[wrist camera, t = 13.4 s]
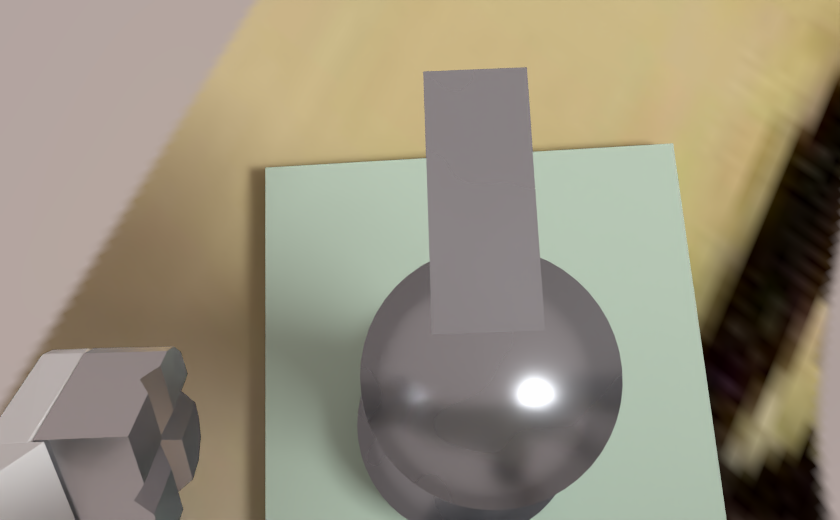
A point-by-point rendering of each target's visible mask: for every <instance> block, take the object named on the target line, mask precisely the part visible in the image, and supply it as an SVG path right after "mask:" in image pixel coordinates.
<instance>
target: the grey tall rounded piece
mask: <svg viewBox="0 0 840 520" xmlns="http://www.w3.org/2000/svg"><path fill="white" fill-rule="evenodd" d="M423 76H424V106H425V137H426V167H427V198H428V228H429V259H430V262H428V263H426V264H424V265H422V266H421V267H419V268H418V269H416V270H415V271H413V272H412V273H410V274H409V275H408V276H407V277H406V278H404V279H403V280H402V281H401V282H400V283H399V284H398V285H397V286H396V287H395V288H394V289H393V290H392V292H391V293H390V294H389V295H388V296H387V297H386V299H385V300H384V302H383V303H382V305H381V306H380V308H379V309H378V311H377V312H376V315H375V317H374V319H373V321H372V323H371V325H370V327H369V330H368V333H367V336H366V339H365V342H364V346H363V352H362V357H361V367H360V385H361V398H360V403H359V408H358V420H357V431H358V442H359V447H360V452H361V456H362V459H363V462H364V465H365V468H366V470H367V472H368V474H369V476H370V478H371V480H372V482H373V484H374V485H375V487H376V488H377V490H378V491H379V493H380V494H381V496H382V497H383V498H384V499H385V500H386V501H387V502H388V504H389V505H390V506H391V507H392V508H394V509H395V510H396V511H397V512H398V513H399V514H400V515H402V516H403V517H404V518H406V519H407V520H530V519H531V518H533V517H534V516H535V515H537V514H538V513H539V512H540V511H541V510H542V509H543V508H544V507H545V506H546V505H547V504H548V503H549V502H550V501H551V500H552V499H553V497H554V496H555V495H556V494H557V493H559V492H561V491H563V490H564V489H566V488H567V487H568V486H570V485H571V484H572V483H574V482H575V481H576V480H578V479H579V478H580V477H581V476H582V475H583V474H584V473H585V472H586V471H587V470H588V469H589V468H590V467H591V466H592V464H593V463H594V462H595V460H596V459H597V458H598V456H599V455H600V454H601V452H602V451H603V449H604V447H605V445H606V444H607V442H608V440H609V438H610V436H611V434H612V431H613V429H614V426H615V424H616V421H617V417H618V413H619V409H620V405H621V397H622V388H623V381H622V365H621V358H620V352H619V349H618V345H617V342H616V339H615V335H614V333H613V331H612V328H611V326H610V324H609V322H608V319H607V318H606V316H605V314H604V313H603V311H602V309H601V308H600V306H599V305H598V303H597V302H596V301H595V300H594V298H593V297H592V296H591V294H590V293H589V292H588V291H587V290H586V289H585V288H584V287H583V286H582V285H581V284H580V283H579V282H578V281H577V280H576V279H574V278H573V277H572V276H571V275H569V274H568V273H567V272H565V271H564V270H563V269H561V268H559V267H558V266H556V265H554V264H552V263H551V262H549V261H547V260H544V259H542V258H540V249H539V235H538V221H537V206H536V192H535V178H534V164H533V149H532V135H531V121H530V106H529V92H528V78H527V67H525V68H500V69H476V70H451V71H427V72H423Z"/></svg>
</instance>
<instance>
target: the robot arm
mask: <svg viewBox="0 0 840 520" xmlns="http://www.w3.org/2000/svg"><path fill="white" fill-rule="evenodd" d="M186 377H187V370H186V367H185V364H184V361H183V357H182V354H181V352H180V351H179V350H178V349H176V348H175V347H174V346H172V347H127V348H93V349H63V350H51V351H49V352H47V353H45V354H43V355H42V356H41V357H40V358H39V360H38V361H37V363H36V364H35V366H34V367H33V369H32V370H31V372H30V373H29V375H28V376H27V378H26V379H25V381H24V382H23V384H22V385H21V387H20V388H19V390H18V391H17V393H16V394H15V396H14V397H13V399H12V400H11V401H10V403H9V404H8V406H7V407H6V409H5V410H4V412H3V413H2V415H1V416H0V520H180V517H181V514H182V511H183V507H182V504H181V500H180V497H179V493H178V492H179V491H180V490H181V489H182V488H183V487H185V486H186V485H187V484H188V483H189V482H190V481H192V480H193V477H194V474H195V470H196V467H197V464H198V461H199V450H200V440H201V434H200V424H199V416H198V412H197V408H196V404H195V402H194V401H193V400H191V399H190V398H189V397H188V396H187V395H185V394H184V393H183V392H182V391H181V390H182V387H183V385H184V382H185V379H186Z"/></svg>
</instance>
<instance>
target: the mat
mask: <svg viewBox="0 0 840 520" xmlns="http://www.w3.org/2000/svg"><path fill="white" fill-rule="evenodd" d="M533 164H534V178H535V192H536V206H537V221H538V235H539V249H540V258H542V259H544V260H547V261H549V262H551V263H552V264H554V265H556V266H558V267H559V268H561V269H563V270H564V271H565V272H567V273H568V274H569V275H571V276H572V277H573V278H574V279H576V280H577V281H578V282H579V283H580V284H581V285H582V286H583V287H584V288H585V289H586V290H587V291H588V292H589V293H590V294H591V296H592V297H593V298H594V300H595V301H596V302H597V303H598V305H599V306H600V308H601V309H602V311H603V313H604V314H605V316H606V318H607V319H608V322H609V324H610V326H611V328H612V331H613V333H614V335H615V339H616V342H617V345H618V349H619V352H620V358H621V365H622V381H623V388H622V397H621V405H620V409H619V413H618V417H617V421H616V424H615V426H614V429H613V431H612V434H611V436H610V438H609V440H608V442H607V444H606V445H605V447H604V449H603V451H602V452H601V454H600V455H599V456H598V458H597V459H596V460H595V462H594V463H593V464H592V466H591V467H590V468H589V469H588V470H587V471H586V472H585V473H584V474H583V475H582V476H581V477H580V478H579V479H578V480H576V481H575V482H574V483H572V484H571V485H570V486H568V487H567V488H566V489H564V490H563V491H561V492H559V493H557V494H556V495H555V496H554V497H553V499H552V500H551V501H550V502H549V503H548V504H547V505H546V506H545V507H544V508H543V509H542V510H541V511H540V512H539V513H538V514H537V515H535V516H534V517H533V518H531V519H530V520H726V513H725V505H724V498H723V491H722V484H721V477H720V470H719V463H718V456H717V449H716V442H715V435H714V428H713V421H712V414H711V407H710V400H709V393H708V386H707V379H706V372H705V365H704V358H703V351H702V344H701V337H700V330H699V323H698V316H697V309H696V302H695V295H694V288H693V281H692V274H691V267H690V260H689V253H688V246H687V239H686V232H685V225H684V218H683V210H682V203H681V196H680V189H679V182H678V175H677V168H676V161H675V154H674V147H673V144H656V145H639V146H623V147H606V148H589V149H572V150H555V151H538V152H533ZM428 262H430V259H429V228H428V198H427V167H426V158H421V159H404V160H387V161H370V162H353V163H336V164H320V165H303V166H286V167H269V168H265V520H407V519H406V518H404V517H403V516H402V515H400V514H399V513H398V512H397V511H396V510H395V509H394V508H392V507H391V506H390V505H389V504H388V502H387V501H386V500H385V499H384V498H383V497H382V496H381V494H380V493H379V491H378V490H377V488H376V487H375V485H374V484H373V482H372V480H371V478H370V476H369V474H368V472H367V470H366V468H365V465H364V462H363V459H362V456H361V452H360V447H359V442H358V431H357V420H358V408H359V403H360V398H361V385H360V367H361V357H362V352H363V346H364V342H365V339H366V336H367V333H368V330H369V327H370V325H371V323H372V321H373V319H374V317H375V315H376V312H377V311H378V309H379V308H380V306H381V305H382V303H383V302H384V300H385V299H386V297H387V296H388V295H389V294H390V293H391V292H392V290H393V289H394V288H395V287H396V286H397V285H398V284H399V283H400V282H401V281H402V280H403V279H404V278H406V277H407V276H408V275H409V274H410V273H412V272H413V271H415V270H416V269H418V268H419V267H421V266H422V265H424V264H426V263H428Z"/></svg>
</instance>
